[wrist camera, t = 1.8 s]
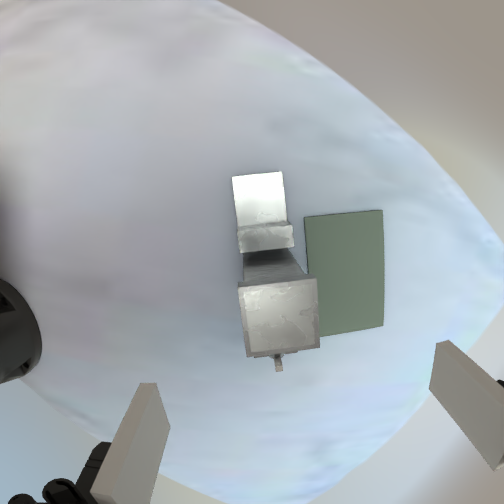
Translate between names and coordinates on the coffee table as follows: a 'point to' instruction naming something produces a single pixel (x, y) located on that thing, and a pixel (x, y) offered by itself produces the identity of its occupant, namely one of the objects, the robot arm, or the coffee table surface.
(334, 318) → the mat
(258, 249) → the silver metal blocks
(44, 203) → the coffee table surface
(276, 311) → the bar
